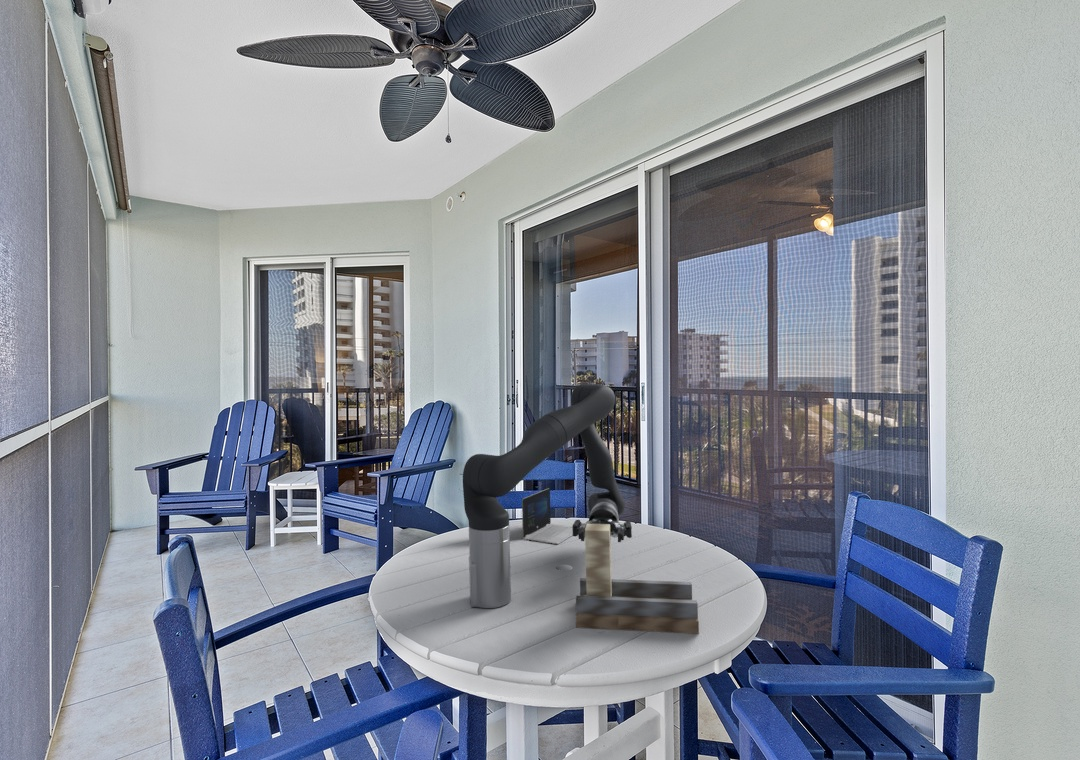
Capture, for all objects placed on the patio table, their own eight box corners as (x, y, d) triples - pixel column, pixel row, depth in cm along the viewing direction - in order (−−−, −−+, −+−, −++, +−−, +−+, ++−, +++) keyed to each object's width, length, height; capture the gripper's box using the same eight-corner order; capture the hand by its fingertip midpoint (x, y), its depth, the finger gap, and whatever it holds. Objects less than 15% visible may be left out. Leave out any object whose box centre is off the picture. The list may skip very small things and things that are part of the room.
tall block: (586, 606, 113) (585, 530, 113) (588, 596, 118) (586, 523, 118) (611, 607, 112) (609, 530, 112) (611, 597, 117) (610, 524, 117)
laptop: (557, 546, 163) (556, 502, 162) (522, 540, 169) (521, 498, 169) (583, 530, 178) (582, 490, 178) (549, 525, 184) (548, 487, 184)
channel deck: (576, 627, 109) (575, 600, 109) (581, 600, 122) (580, 576, 122) (698, 633, 106) (698, 605, 105) (691, 605, 118) (690, 580, 118)
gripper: (576, 504, 143) (570, 520, 127) (631, 505, 141) (631, 522, 125) (577, 532, 143) (570, 552, 127) (631, 534, 141) (632, 554, 125)
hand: (600, 537), depth 126 cm, fingers open, 8 cm apart
